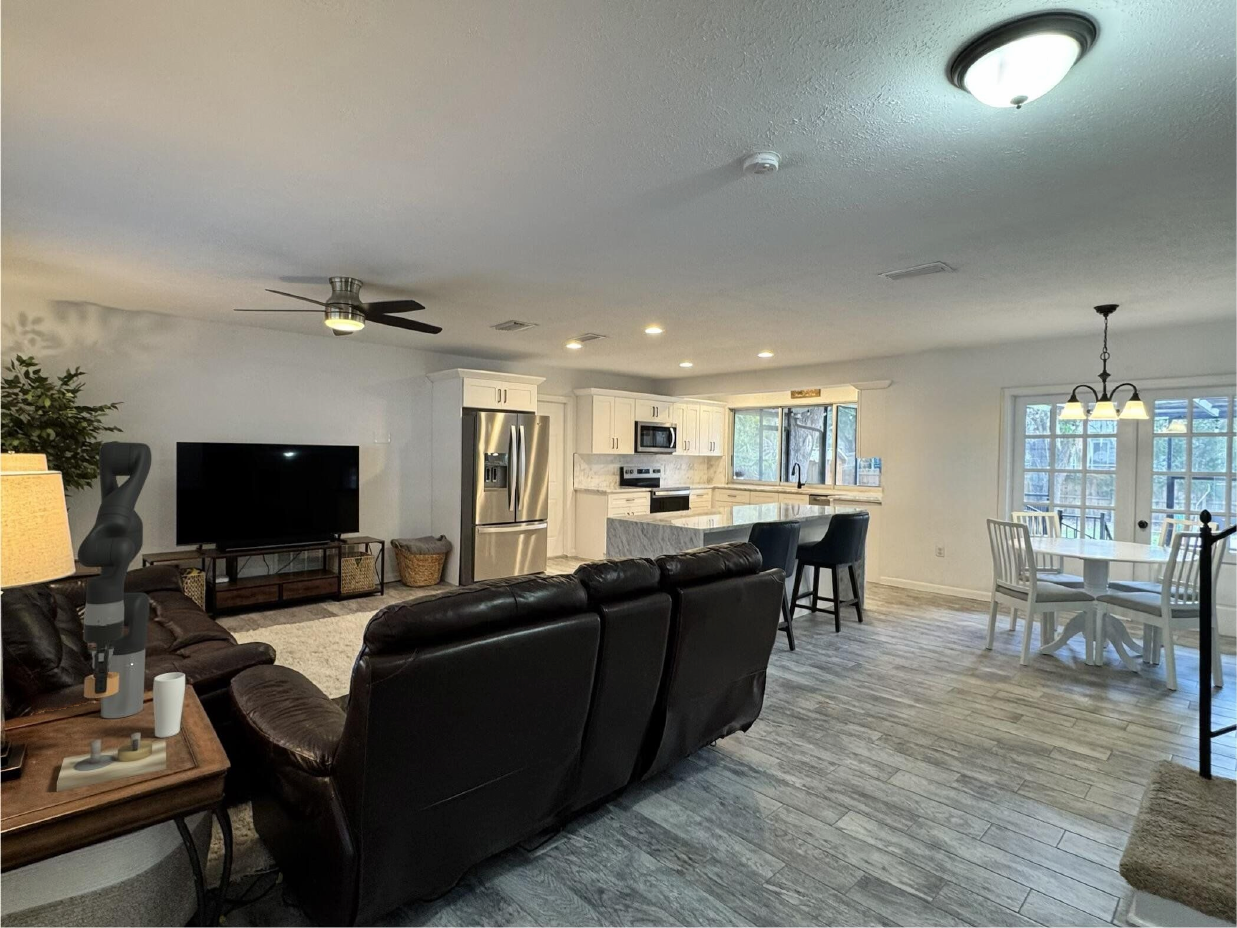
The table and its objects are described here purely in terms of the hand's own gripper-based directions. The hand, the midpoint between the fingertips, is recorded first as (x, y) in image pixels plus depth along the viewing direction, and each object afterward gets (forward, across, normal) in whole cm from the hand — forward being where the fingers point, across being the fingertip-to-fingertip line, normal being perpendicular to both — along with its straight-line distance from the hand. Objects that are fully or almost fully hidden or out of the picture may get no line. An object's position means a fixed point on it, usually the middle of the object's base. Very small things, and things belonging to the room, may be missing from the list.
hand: (101, 687), depth 153 cm
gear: (+1, 0, 0) cm, 1 cm away
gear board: (+15, +12, +4) cm, 20 cm away
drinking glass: (+16, -3, +14) cm, 21 cm away
